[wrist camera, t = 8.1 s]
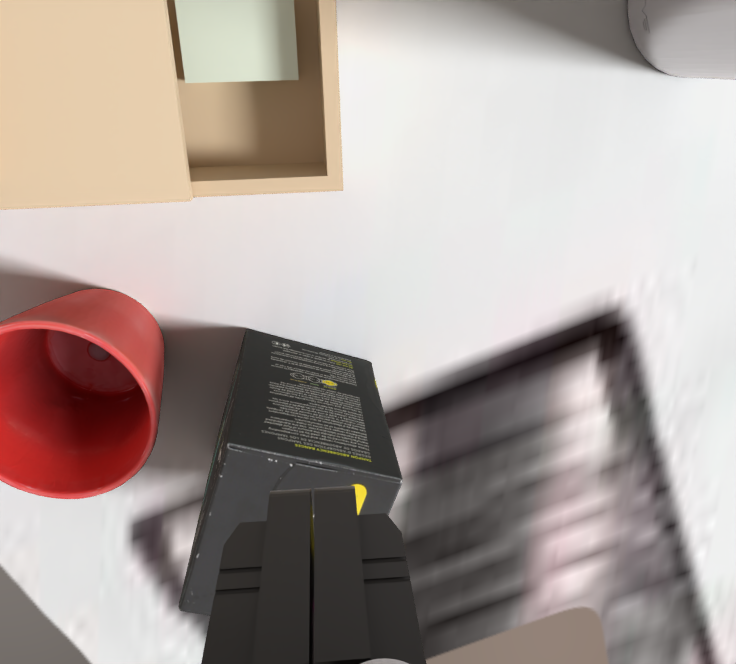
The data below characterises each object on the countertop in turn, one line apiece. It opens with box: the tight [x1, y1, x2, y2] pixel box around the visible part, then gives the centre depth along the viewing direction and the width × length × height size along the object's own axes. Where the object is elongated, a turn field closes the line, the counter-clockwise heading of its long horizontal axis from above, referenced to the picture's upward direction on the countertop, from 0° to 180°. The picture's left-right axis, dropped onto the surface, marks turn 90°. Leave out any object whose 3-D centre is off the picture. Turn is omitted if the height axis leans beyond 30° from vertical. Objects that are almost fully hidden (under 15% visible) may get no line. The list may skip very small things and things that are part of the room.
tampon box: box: [179, 329, 403, 616], centre depth 39 cm, size 11×9×15 cm
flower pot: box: [0, 289, 164, 499], centre depth 38 cm, size 11×11×10 cm
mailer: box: [167, 0, 343, 197], centre depth 33 cm, size 20×15×6 cm
